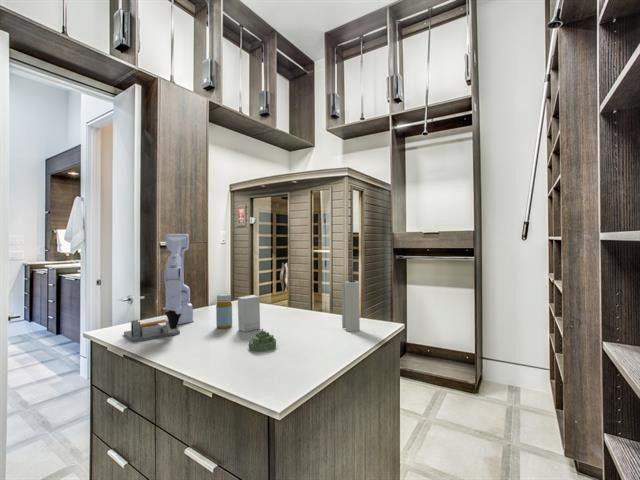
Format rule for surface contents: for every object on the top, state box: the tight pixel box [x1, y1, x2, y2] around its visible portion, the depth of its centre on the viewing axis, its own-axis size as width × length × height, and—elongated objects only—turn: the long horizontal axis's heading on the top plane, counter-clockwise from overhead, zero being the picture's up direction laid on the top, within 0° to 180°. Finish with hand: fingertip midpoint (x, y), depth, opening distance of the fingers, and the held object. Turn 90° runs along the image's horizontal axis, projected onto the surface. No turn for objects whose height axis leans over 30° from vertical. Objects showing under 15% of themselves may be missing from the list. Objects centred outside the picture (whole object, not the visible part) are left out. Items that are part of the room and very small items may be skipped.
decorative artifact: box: [248, 328, 277, 353], centre depth 123 cm, size 10×7×10 cm
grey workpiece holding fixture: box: [123, 319, 181, 343], centre depth 142 cm, size 18×16×6 cm
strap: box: [140, 319, 165, 327], centre depth 143 cm, size 13×2×1 cm, turn 132°
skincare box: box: [237, 294, 261, 333], centre depth 148 cm, size 8×6×15 cm
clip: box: [163, 318, 176, 333], centre depth 142 cm, size 3×6×5 cm, turn 42°
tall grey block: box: [341, 280, 361, 333], centre depth 145 cm, size 7×6×21 cm
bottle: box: [215, 293, 233, 330], centre depth 153 cm, size 7×7×15 cm
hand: (173, 328), depth 138 cm, fingers closed
